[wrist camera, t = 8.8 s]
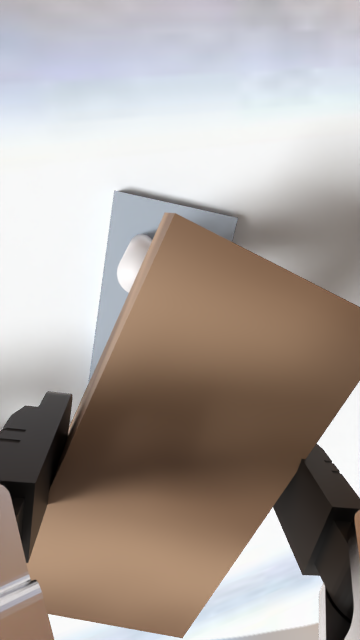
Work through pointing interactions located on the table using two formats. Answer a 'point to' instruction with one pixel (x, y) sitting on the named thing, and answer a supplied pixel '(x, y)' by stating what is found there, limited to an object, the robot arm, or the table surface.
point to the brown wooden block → (189, 430)
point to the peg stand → (138, 252)
